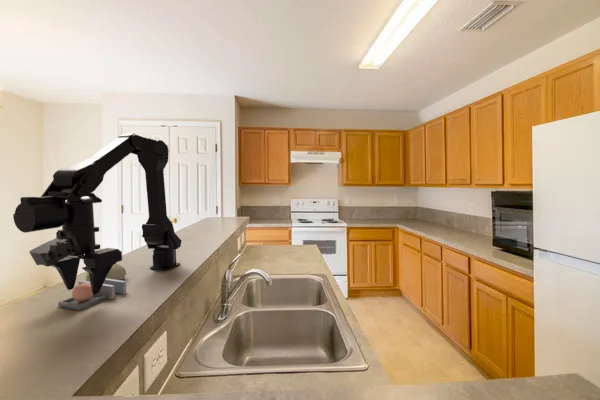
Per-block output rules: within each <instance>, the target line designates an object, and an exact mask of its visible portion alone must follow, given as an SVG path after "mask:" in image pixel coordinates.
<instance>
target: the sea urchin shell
mask: <svg viewBox="0 0 600 400" xmlns="http://www.w3.org/2000/svg"><path fill="white" fill-rule="evenodd" d="M85 275H86V276H85V281H89V282H90V277H89V273H88V272H87V273H86V274H85ZM126 276H127V269H126V268H125V267H124V266H122V265H120V264H119V263H116V264H114V265H113V266H112V268H111V270H110V271H109V273H108V275H107V277H106V278H108V279H114V280H121V281H123V279H124V278H126Z"/></svg>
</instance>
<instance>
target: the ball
mask: <svg viewBox="0 0 600 400" xmlns="http://www.w3.org/2000/svg"><path fill="white" fill-rule="evenodd" d="M71 295H72V296H71V297H73V298H74V299H75V300H76V301H80V302H82V301H86V300H88V299H90V298H91V297H92V295H93V292H92V288H91V285H90V284H88V283H83V284H79V283H78V285H76V286H74V288H73V289H72V292H71Z"/></svg>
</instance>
